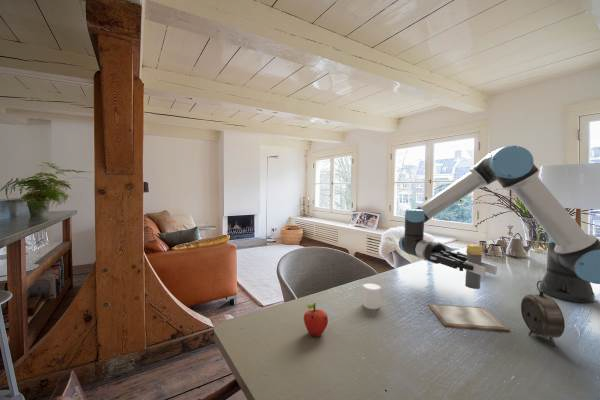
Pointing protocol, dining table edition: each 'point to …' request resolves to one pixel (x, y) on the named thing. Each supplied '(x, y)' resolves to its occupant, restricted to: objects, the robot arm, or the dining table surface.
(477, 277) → the marker
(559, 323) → the alarm clock
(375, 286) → the white cylinder
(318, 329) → the apple
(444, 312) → the wooden picture frame
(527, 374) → the dining table surface
